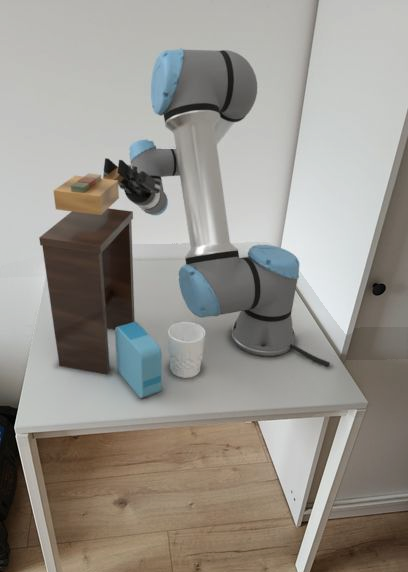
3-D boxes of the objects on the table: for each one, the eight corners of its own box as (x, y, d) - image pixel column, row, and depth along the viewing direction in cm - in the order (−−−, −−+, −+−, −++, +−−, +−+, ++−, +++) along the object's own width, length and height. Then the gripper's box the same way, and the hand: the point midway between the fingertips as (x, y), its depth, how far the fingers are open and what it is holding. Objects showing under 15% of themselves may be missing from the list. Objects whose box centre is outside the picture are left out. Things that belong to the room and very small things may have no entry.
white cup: (207, 362, 114) (209, 326, 109) (196, 383, 108) (199, 345, 102) (174, 355, 116) (175, 318, 110) (162, 375, 110) (162, 337, 104)
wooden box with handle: (108, 169, 117) (106, 148, 114) (145, 173, 116) (144, 153, 113) (55, 209, 95) (52, 184, 92) (100, 215, 93) (99, 190, 91)
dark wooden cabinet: (90, 321, 126) (79, 204, 109) (136, 329, 124) (133, 211, 107) (57, 365, 111) (38, 237, 93) (109, 374, 109) (100, 245, 92)
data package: (161, 394, 105) (162, 347, 98) (142, 401, 102) (141, 353, 96) (135, 364, 113) (133, 318, 106) (116, 370, 110) (114, 324, 104)
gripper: (169, 209, 130) (145, 187, 107) (112, 202, 132) (76, 179, 109) (173, 180, 129) (150, 151, 106) (115, 173, 131) (81, 143, 108)
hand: (113, 165), depth 108 cm, fingers closed on wooden box with handle, 2 cm apart
